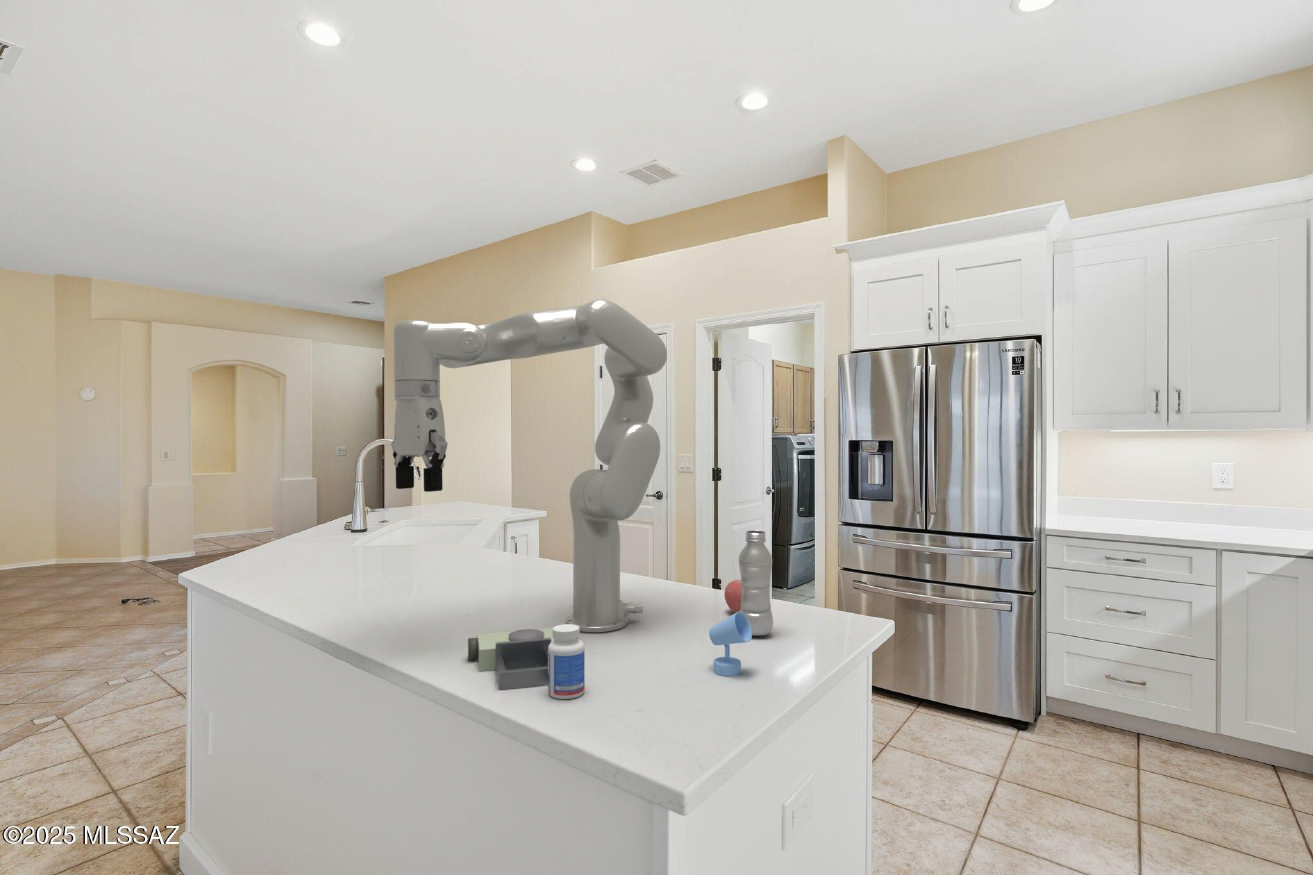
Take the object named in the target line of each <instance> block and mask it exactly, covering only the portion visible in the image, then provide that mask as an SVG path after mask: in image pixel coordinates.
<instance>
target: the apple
mask: <svg viewBox="0 0 1313 875" xmlns="http://www.w3.org/2000/svg"><path fill="white" fill-rule="evenodd" d="M741 596H742V585H741V579H736V580H735V579H734V580H732V581H730V582H729V583H727V585H726V587H725V588H724V600H725V603H726V605H727V607H728V608H729V609H730V610H731V611H732V613H734V614H735V613H736V612H740V609H741Z"/></svg>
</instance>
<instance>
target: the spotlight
mask: <svg viewBox="0 0 1313 875" xmlns="http://www.w3.org/2000/svg"><path fill="white" fill-rule="evenodd" d="M708 634H709V640H710V641H711V642H712V644H713V645H714V646H724V656H720V657H716V658H714V659H713V673H714V674H716V675H717V676H721V677H722V676H723V677H736V676H739V675H740V674H741V673H742V661H741V660H740V659H739V658H736V657H733V656H731V655H730V654H731V653H730V652H731V651H730V650H731V648H730V647H731V645H732V644H733V645H734V644H741V643H742V644H743V643H749V642H751V640H752V638H753V637H752V629H751V625H750V623H749V620H748V619H747V617H746V616H745V615H744V614H743V613H742V612H736V613H734V614H731V615H729V617H727V618H725V619H723V620H722V621H720V622H719V623H717V624H715V625H714V626H712V627H710V629H709V632H708Z"/></svg>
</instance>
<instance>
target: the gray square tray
mask: <svg viewBox="0 0 1313 875" xmlns="http://www.w3.org/2000/svg"><path fill="white" fill-rule="evenodd" d="M550 643H551V638H541V639H530V640H519V641H507V642H496V643H495V670H494V671H495V675H496V680H497V684H498V690H499V691H502V690H511V689H514V690H515V689H522V688H532V687H541V686H548V647H549V644H550Z"/></svg>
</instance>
